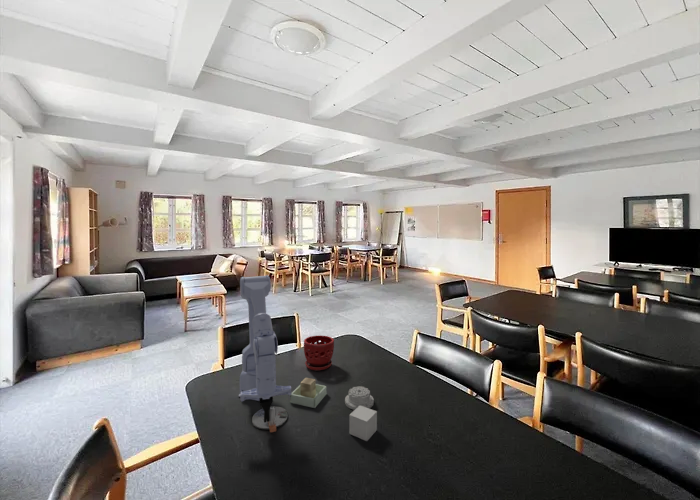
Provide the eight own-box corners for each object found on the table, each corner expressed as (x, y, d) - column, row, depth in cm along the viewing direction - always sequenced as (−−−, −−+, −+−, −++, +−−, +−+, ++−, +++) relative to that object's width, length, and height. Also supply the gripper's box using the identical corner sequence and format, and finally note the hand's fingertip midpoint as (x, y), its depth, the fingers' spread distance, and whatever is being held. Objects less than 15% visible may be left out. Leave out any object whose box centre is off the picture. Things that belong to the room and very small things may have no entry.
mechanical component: (342, 409, 107) (371, 413, 105) (342, 397, 107) (371, 400, 105) (348, 394, 117) (375, 397, 115) (348, 382, 117) (375, 385, 115)
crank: (263, 413, 103) (263, 396, 102) (275, 411, 104) (274, 394, 104) (266, 434, 93) (266, 415, 92) (279, 431, 94) (279, 412, 94)
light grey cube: (349, 434, 94) (349, 414, 94) (359, 423, 99) (359, 405, 99) (366, 441, 91) (366, 421, 91) (376, 430, 96) (377, 411, 96)
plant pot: (333, 372, 133) (332, 345, 132) (301, 372, 134) (301, 344, 133) (335, 359, 146) (334, 334, 146) (306, 359, 147) (306, 334, 146)
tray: (290, 402, 111) (289, 394, 111) (303, 389, 120) (303, 381, 120) (314, 408, 108) (314, 399, 107) (326, 393, 117) (326, 386, 116)
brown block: (300, 399, 112) (300, 382, 112) (305, 393, 116) (305, 377, 116) (310, 401, 111) (310, 384, 110) (315, 395, 115) (315, 379, 114)
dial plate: (244, 425, 99) (244, 422, 99) (265, 406, 109) (265, 403, 109) (275, 432, 95) (275, 429, 95) (294, 412, 105) (293, 409, 105)
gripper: (238, 385, 89) (240, 432, 89) (291, 378, 92) (292, 424, 93) (241, 374, 95) (242, 418, 96) (290, 368, 99) (291, 411, 100)
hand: (267, 420), depth 95 cm, fingers closed, pressing on crank
